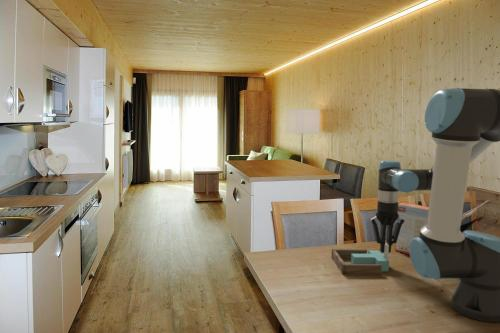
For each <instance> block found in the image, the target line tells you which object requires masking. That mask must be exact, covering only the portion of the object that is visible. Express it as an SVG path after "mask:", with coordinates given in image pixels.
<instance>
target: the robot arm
mask: <svg viewBox="0 0 500 333" xmlns="http://www.w3.org/2000/svg"><path fill="white" fill-rule="evenodd" d="M424 122H425V128H426V129H427V131H428V132H431V138H432V140H433V141H434V142H435V143H436V146H435V155H434V162H433V166H432V167H431V168H429V169H426V168H425V169H423V168H422V169H419V168H417V169H416V168H414V169H411V168H410V169H407V168H404V169H403V168H401V163H400V161H399V160H381V161H380V162H379V166H378V187H377V188H378V189H377V202H376V203H377V205H376V206H377V207H376V209H377V211H376V213H375V216H374V217H370V218H369V221H370V223H371V225H372V230H373V235H374V239H375V242H376V243H377V244H379V252H380V253H381V254H382V255H383V256H384V257H385V258H386V259H387V260H389V253H390V254H391V252H392V246H393V245H394V244H395V243H396V242H397V239H398V236H399V232H400V229H401V226H402V224H403V223H404V220H403V219H402V218H400V217H399V215H398V204H399V199H400V198H399V197H400V196H399V195H400V192H401V193H412V192H414V191H415V192H416V191H430V196H429V203H428V207H429V210H428V218H427V224H426V225H425V226H424V227H422V228H421V229H420V236H419V237H415V238H413V239H412V240H411V242H410V246H409V251H410V255H409V257H410V261H411V263H412V266H413V268H414V271H416V273H417V274H418V275H419V276H420V277H422V278H423V279H431V280H432V279H434V280H441V279H444V280H445V279H459V281H458V283H457V284H456V287H455V289H454V292H453V293H452V294H451V299H450V300H451V302H450V306H451V307H452V309H454V311H456V312H457V313H458V314H461V315H463V316H465V317H467V318H470V319H473V320H477V321H480V322H485V323H494V324H495V323H500V236H497V235H494V234H490V233H488V232H487V233H486V232H482V231H478V230H467V229H466V230H463V232H462V231H461V226H462V224H461V223H462V219H463V210H464V204H465V199H466V191H467V184H468V178H469V177H468V176H469V171H470V170H469V169H470V164H471V163H473V162H474V160H476V159H477V158H479V156H481V154H483V152H485V151H486V150H487V149H488V148H489V147H490V146H491V145H492V144H493V143H498V142H500V89H498V88H497V89H496V88H460V87H455V88H443V89H440V90H438V91H437V92H435V93H434V95H433V96H432V97H431V98H430V100H429V101H428V103H427V105H426V108H425V111H424ZM396 220H397V223H396ZM378 222H379V224H380V232H379V226H378ZM394 224H395V225H394ZM393 228H394V229H393Z"/></svg>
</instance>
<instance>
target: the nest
mask: <svg viewBox="0 0 500 333" xmlns="http://www.w3.org/2000/svg"><path fill="white" fill-rule="evenodd" d="M351 254H368V250H367V248H364V249H361V248H360V249H359V248H356V249H355V248H353V249H352V248H351V249H350V248H349V249H348V248H347V249H346V248H343V249H342V248H341V249H338V248H336V249H335V248H331V259H332V261H333V262H334V264H335V265H336V267H337V268H338V269H339V271H340V273H341V274H342V275H343V276H345V275H355V276H356V275H357V276H358V275H363V276H364V275H367V276H368V275H371V276H373V275H379V276H380V275H382V272H383V271H382V265H381V264H351V263H346V262H345V261H344V260H343V259H350V260H351Z"/></svg>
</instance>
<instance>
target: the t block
mask: <svg viewBox="0 0 500 333" xmlns="http://www.w3.org/2000/svg"><path fill="white" fill-rule="evenodd" d="M350 264H381V265H382V271H381V272H389V270H390V269H389V268H390V261H389V259H388V260H387V259H386V258H385V257H384V256H383V255H382V252H380V250H373V249H371V250H370V249H369V250H367V254H351V259H350Z"/></svg>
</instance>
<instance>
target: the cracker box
mask: <svg viewBox="0 0 500 333" xmlns="http://www.w3.org/2000/svg"><path fill="white" fill-rule="evenodd" d="M428 210H429V206H424V205H418V204H414V203H408V202H407V203H406V202H400V203H398V215H399V217H400V218H402V219H403V220H404V223H403V224H402V226H401V229H400V232H399V236H398V239H397V242H396V243H394V251H395V252H399V253H402V254H405V255H406V254H407V255H409V256H410V251H409V246H410V242H411V240H412V239H413V238H415V237H419V236H420V229H421V228H422V227H424V226H425V225H426V224H427V218H428ZM396 223H397V220H396V221H395V224H396Z"/></svg>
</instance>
